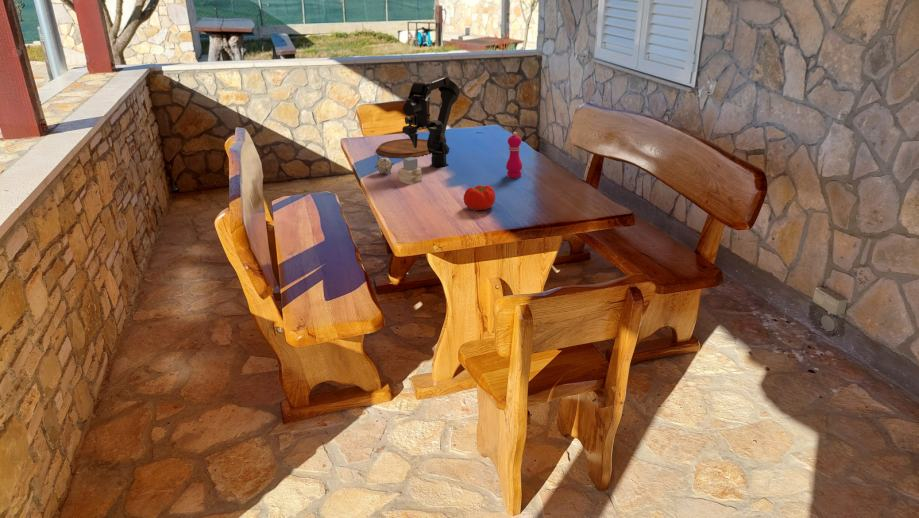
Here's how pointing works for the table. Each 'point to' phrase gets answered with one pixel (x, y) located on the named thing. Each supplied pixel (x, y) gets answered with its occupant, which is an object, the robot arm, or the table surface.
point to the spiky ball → (384, 165)
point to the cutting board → (403, 148)
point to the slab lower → (410, 180)
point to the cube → (410, 163)
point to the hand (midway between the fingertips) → (423, 146)
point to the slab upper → (410, 173)
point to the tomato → (479, 197)
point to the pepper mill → (514, 157)
